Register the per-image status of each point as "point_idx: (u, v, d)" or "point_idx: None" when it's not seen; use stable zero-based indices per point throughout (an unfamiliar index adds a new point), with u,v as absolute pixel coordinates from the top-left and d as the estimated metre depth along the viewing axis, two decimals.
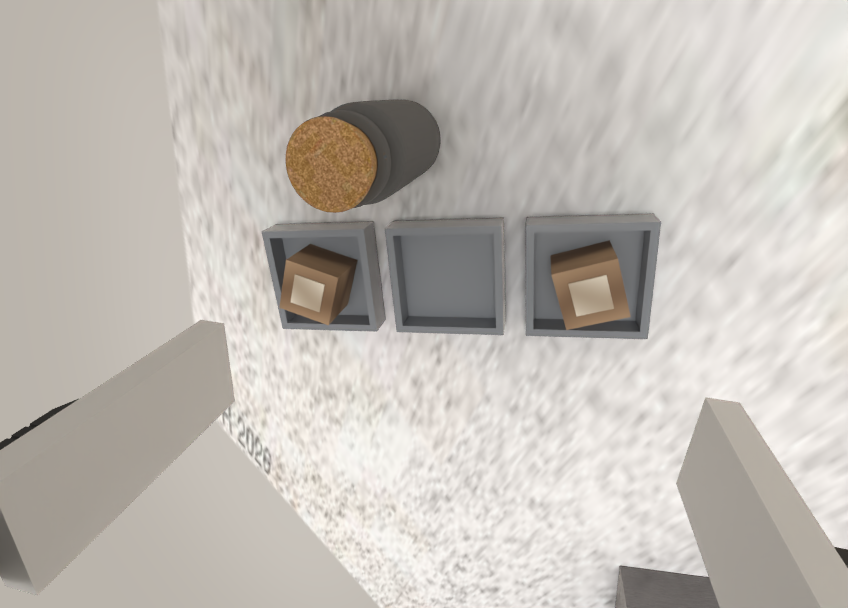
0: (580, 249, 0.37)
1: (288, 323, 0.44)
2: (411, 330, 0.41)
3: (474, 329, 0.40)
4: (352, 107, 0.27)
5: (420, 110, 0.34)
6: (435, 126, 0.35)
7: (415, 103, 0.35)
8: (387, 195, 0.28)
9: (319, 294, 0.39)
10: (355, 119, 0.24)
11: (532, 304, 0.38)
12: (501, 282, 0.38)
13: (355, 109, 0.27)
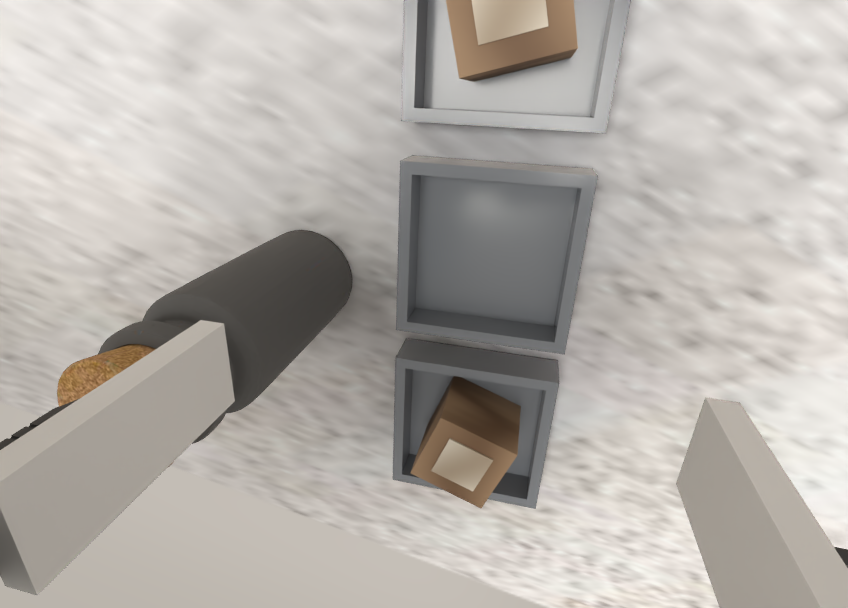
0: None
1: (528, 498, 0.29)
2: (565, 331, 0.25)
3: (578, 226, 0.22)
4: None
5: None
6: (283, 235, 0.28)
7: None
8: (246, 333, 0.19)
9: (464, 450, 0.26)
10: None
11: (542, 117, 0.21)
12: (494, 169, 0.22)
13: None
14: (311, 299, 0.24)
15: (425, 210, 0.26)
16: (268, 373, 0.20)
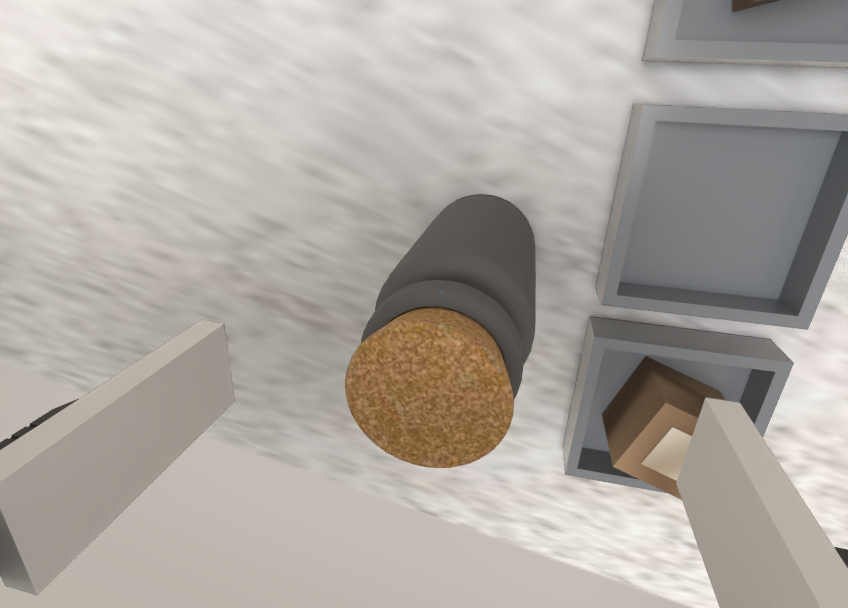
0: None
1: None
2: (814, 302, 0.22)
3: None
4: None
5: (438, 216, 0.24)
6: (466, 198, 0.24)
7: None
8: (524, 298, 0.16)
9: (688, 440, 0.23)
10: (373, 326, 0.14)
11: (839, 46, 0.18)
12: (763, 112, 0.19)
13: None
14: (534, 266, 0.21)
15: None
16: None
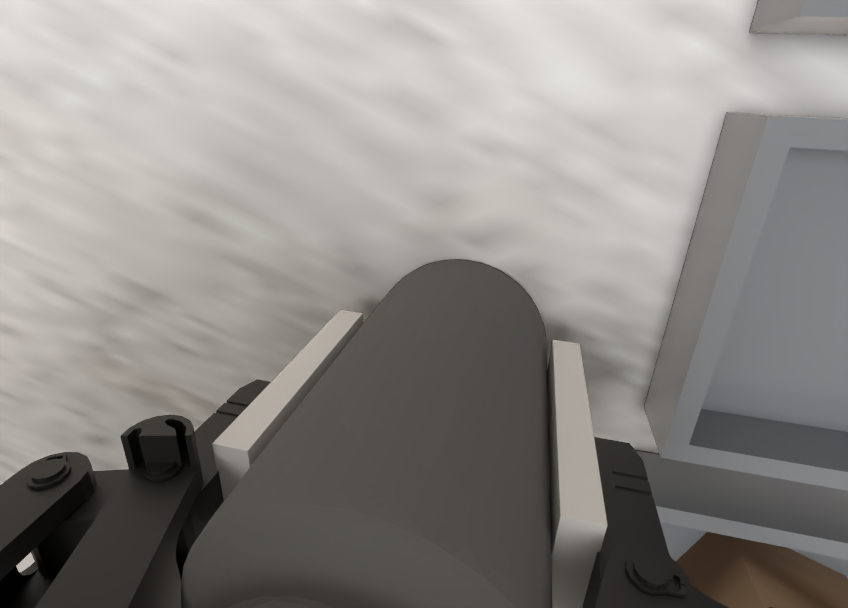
0: None
1: None
2: None
3: None
4: None
5: (381, 304, 0.14)
6: (432, 270, 0.15)
7: None
8: None
9: None
10: None
11: None
12: None
13: None
14: (546, 425, 0.11)
15: None
16: None
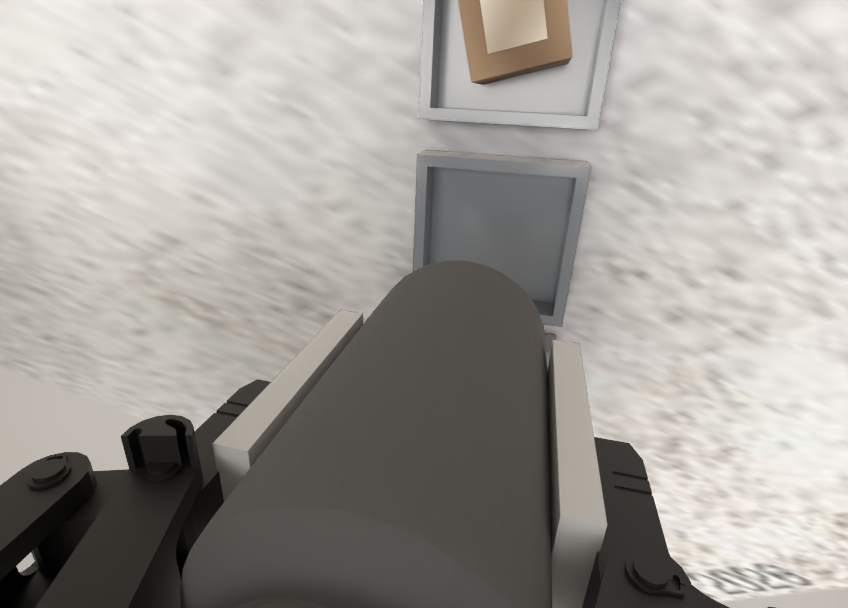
0: None
1: None
2: (562, 305, 0.28)
3: (574, 212, 0.26)
4: None
5: (381, 305, 0.14)
6: (432, 271, 0.15)
7: None
8: None
9: None
10: None
11: (542, 115, 0.24)
12: (500, 161, 0.25)
13: None
14: (546, 426, 0.11)
15: (438, 199, 0.29)
16: None
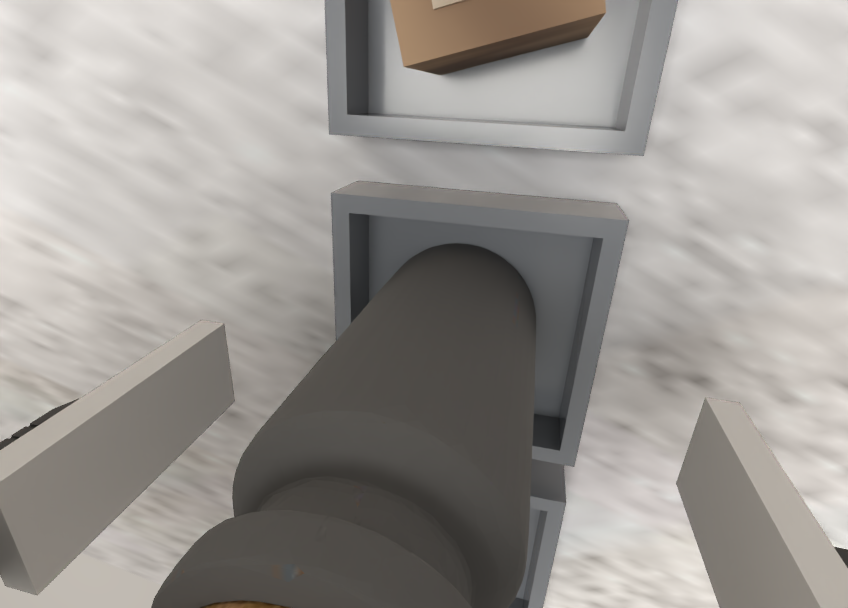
0: None
1: None
2: (575, 436, 0.17)
3: (597, 294, 0.15)
4: (237, 512, 0.09)
5: (390, 280, 0.16)
6: (435, 251, 0.16)
7: None
8: (505, 509, 0.08)
9: None
10: None
11: (542, 129, 0.13)
12: (469, 208, 0.15)
13: (237, 513, 0.09)
14: (532, 379, 0.13)
15: (377, 258, 0.18)
16: None
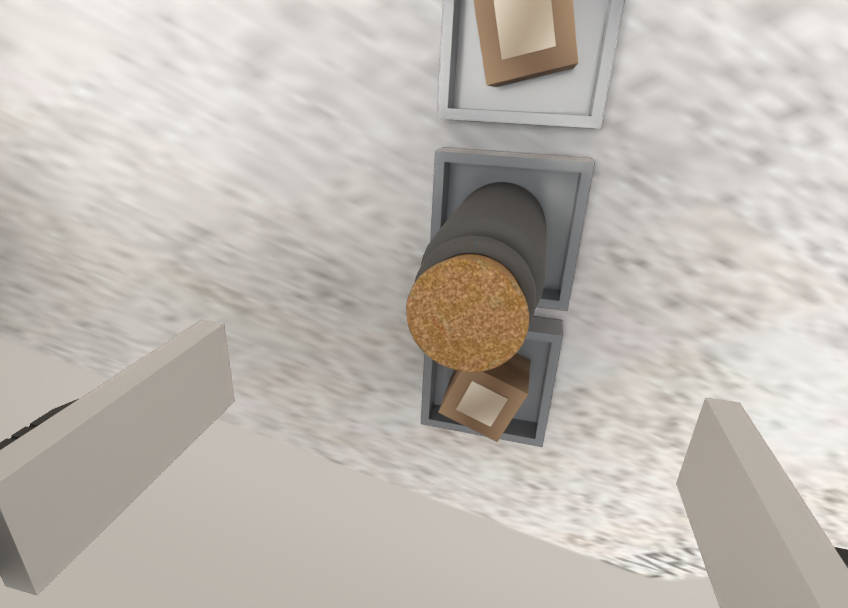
0: None
1: (536, 438, 0.35)
2: (568, 291, 0.30)
3: (579, 204, 0.28)
4: None
5: (466, 198, 0.29)
6: (490, 184, 0.29)
7: None
8: (537, 254, 0.21)
9: (484, 391, 0.31)
10: (425, 269, 0.20)
11: (550, 115, 0.26)
12: (511, 157, 0.28)
13: None
14: (545, 238, 0.26)
15: (453, 192, 0.31)
16: None
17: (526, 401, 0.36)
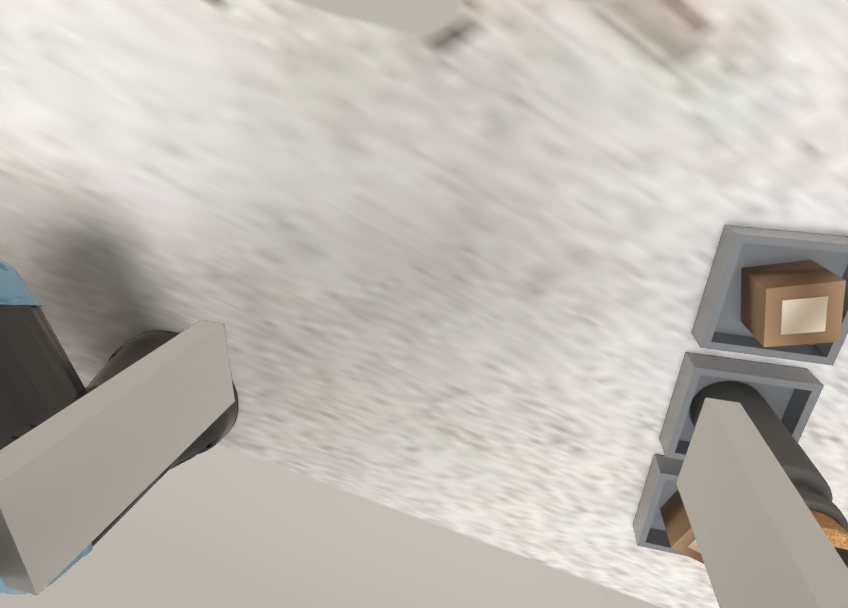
0: (743, 296, 0.37)
1: None
2: None
3: (805, 410, 0.38)
4: None
5: None
6: (730, 387, 0.39)
7: (702, 398, 0.40)
8: (830, 491, 0.31)
9: None
10: None
11: (793, 353, 0.36)
12: (756, 376, 0.37)
13: None
14: None
15: None
16: None
17: None
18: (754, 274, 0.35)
